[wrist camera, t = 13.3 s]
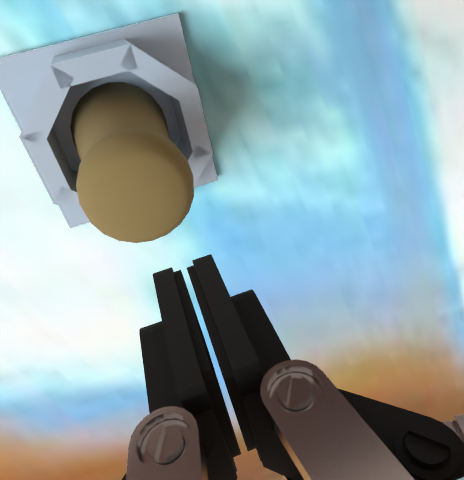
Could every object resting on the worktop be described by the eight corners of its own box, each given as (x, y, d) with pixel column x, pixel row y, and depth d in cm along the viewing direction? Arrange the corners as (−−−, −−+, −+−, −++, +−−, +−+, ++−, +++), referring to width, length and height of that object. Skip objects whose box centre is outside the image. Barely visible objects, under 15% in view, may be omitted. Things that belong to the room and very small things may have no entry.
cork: (88, 185, 27) (92, 279, 18) (55, 92, 24) (39, 151, 15) (175, 164, 28) (220, 242, 19) (156, 73, 25) (198, 116, 16)
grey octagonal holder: (176, 13, 24) (191, 15, 21) (215, 177, 30) (232, 198, 27) (-12, 60, 22) (-28, 71, 19) (70, 224, 29) (69, 253, 25)
